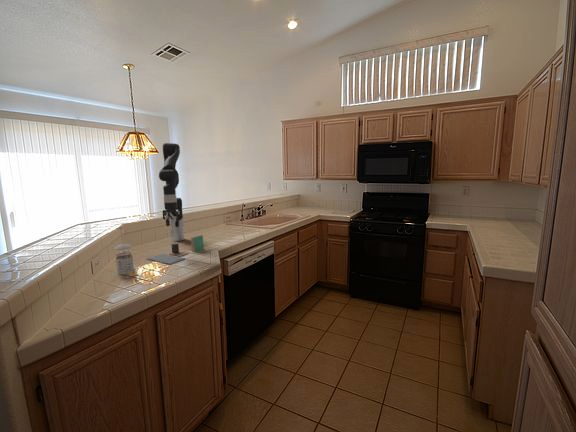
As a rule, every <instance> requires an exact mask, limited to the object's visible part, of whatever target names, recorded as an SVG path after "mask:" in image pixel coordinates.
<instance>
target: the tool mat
mask: <svg viewBox="0 0 576 432" xmlns="http://www.w3.org/2000/svg"><path fill="white" fill-rule="evenodd" d="M146 260H148V261H153V262H158V263H161V264H165V265H173V264H176V263H179V262H181V261H185V260H186V258H185V257H182V256H181V257H178V256H173V255H170V254H165V253H159V254H157V255H153V256H149V257H147V258H146Z"/></svg>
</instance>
